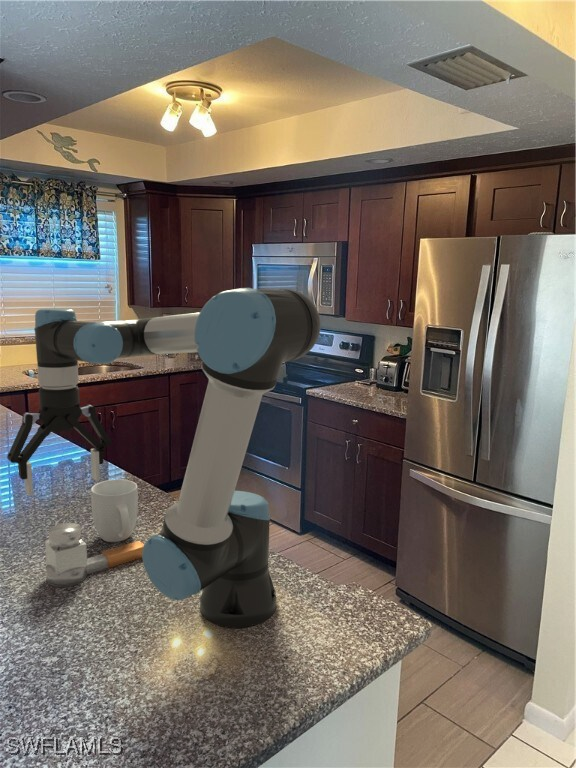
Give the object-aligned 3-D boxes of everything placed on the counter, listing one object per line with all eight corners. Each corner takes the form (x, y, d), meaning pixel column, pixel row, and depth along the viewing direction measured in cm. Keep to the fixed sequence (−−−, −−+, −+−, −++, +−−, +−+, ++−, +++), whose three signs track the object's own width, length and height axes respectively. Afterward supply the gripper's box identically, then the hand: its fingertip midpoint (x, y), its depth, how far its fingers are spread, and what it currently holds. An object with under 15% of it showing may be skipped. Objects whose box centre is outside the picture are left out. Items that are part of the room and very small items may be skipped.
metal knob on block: (87, 565, 119) (85, 530, 118) (56, 575, 115) (54, 539, 114) (76, 554, 124) (74, 520, 122) (46, 562, 120) (44, 528, 118)
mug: (150, 546, 135) (149, 495, 132) (104, 557, 129) (102, 504, 126) (130, 523, 147) (129, 476, 144) (87, 532, 141) (85, 483, 138)
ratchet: (150, 560, 128) (150, 535, 127) (54, 591, 114) (52, 564, 113) (135, 547, 134) (134, 523, 133) (41, 575, 120) (40, 549, 119)
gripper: (110, 377, 123) (113, 469, 127) (-15, 389, 107) (-7, 494, 111) (125, 382, 118) (128, 478, 121) (-5, 396, 102) (3, 506, 105)
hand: (63, 486), depth 116 cm, fingers open, 13 cm apart
